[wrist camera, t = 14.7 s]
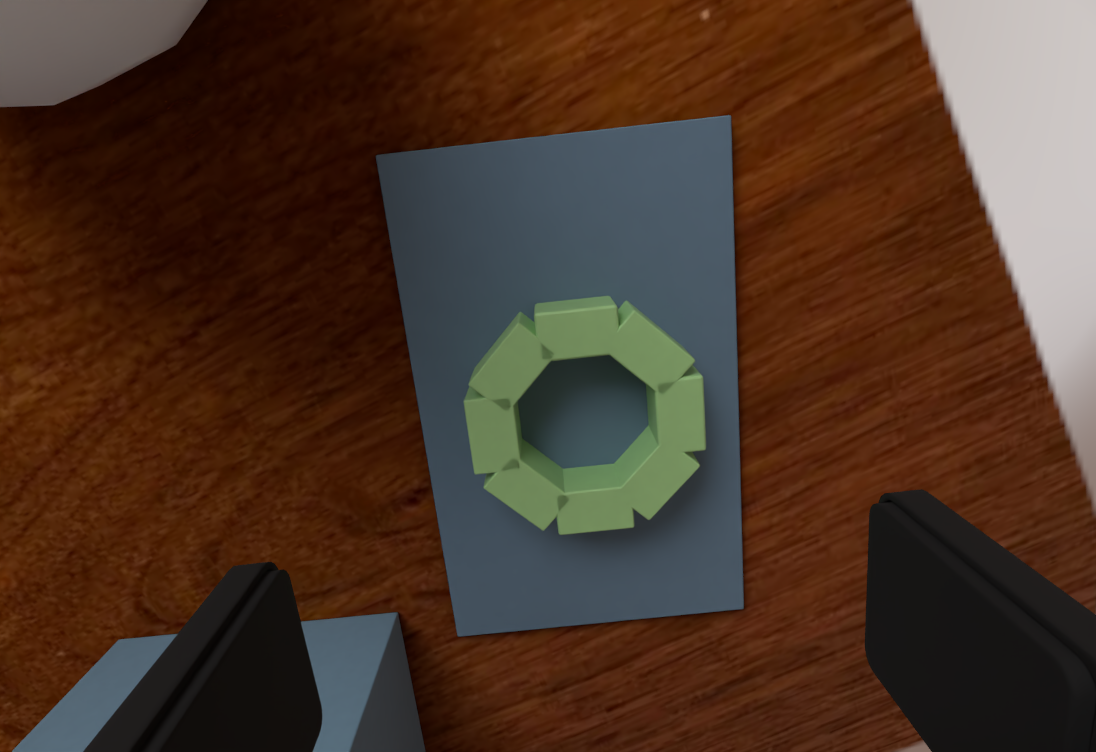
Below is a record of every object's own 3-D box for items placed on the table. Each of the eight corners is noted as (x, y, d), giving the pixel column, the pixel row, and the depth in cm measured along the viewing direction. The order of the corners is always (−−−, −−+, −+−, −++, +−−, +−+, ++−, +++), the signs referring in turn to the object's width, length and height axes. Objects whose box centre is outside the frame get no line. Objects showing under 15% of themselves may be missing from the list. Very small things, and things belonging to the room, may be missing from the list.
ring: (488, 515, 21) (484, 544, 19) (459, 311, 19) (450, 322, 17) (695, 493, 21) (710, 521, 19) (686, 286, 19) (700, 296, 17)
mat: (458, 629, 22) (457, 637, 22) (378, 155, 18) (374, 154, 18) (740, 602, 22) (744, 609, 22) (727, 117, 18) (731, 114, 18)
